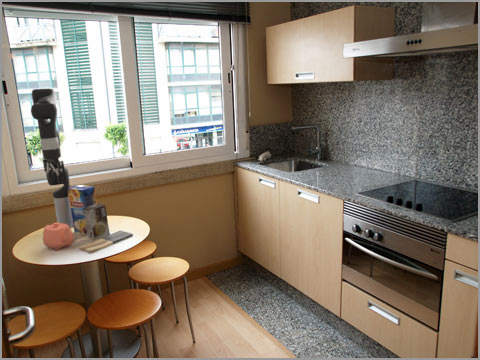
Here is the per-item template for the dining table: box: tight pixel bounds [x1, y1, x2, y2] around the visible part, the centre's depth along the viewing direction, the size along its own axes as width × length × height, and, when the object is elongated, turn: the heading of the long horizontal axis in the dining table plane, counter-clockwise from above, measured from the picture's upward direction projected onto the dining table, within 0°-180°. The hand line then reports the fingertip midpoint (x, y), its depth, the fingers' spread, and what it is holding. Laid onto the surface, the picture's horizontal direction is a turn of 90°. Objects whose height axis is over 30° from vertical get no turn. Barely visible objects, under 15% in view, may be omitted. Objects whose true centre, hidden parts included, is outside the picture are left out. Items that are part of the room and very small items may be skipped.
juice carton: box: [67, 184, 98, 235], centre depth 208 cm, size 12×8×24 cm, turn 62°
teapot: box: [42, 222, 75, 252], centre depth 189 cm, size 20×12×12 cm, turn 56°
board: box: [78, 230, 134, 254], centre depth 193 cm, size 10×24×1 cm, turn 144°
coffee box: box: [83, 202, 111, 241], centre depth 200 cm, size 9×6×16 cm
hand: (56, 181), depth 183 cm, fingers open, 8 cm apart
